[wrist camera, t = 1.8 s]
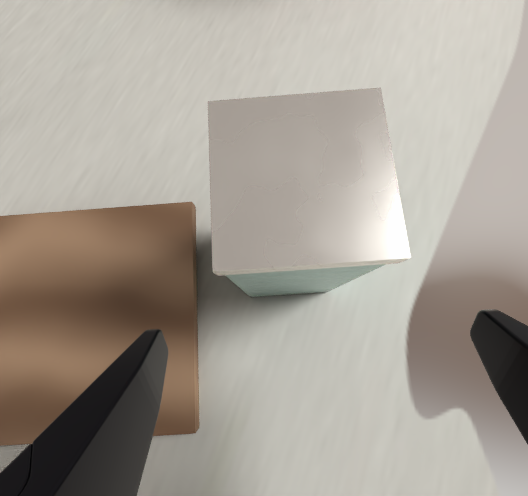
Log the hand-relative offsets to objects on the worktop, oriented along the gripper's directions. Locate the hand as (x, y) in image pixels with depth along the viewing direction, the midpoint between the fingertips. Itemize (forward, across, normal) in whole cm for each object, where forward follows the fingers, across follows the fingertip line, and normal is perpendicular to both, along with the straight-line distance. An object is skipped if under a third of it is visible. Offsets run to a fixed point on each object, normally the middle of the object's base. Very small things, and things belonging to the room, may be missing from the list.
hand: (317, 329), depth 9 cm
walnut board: (+9, +13, +7) cm, 17 cm away
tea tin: (+11, 0, +5) cm, 12 cm away
